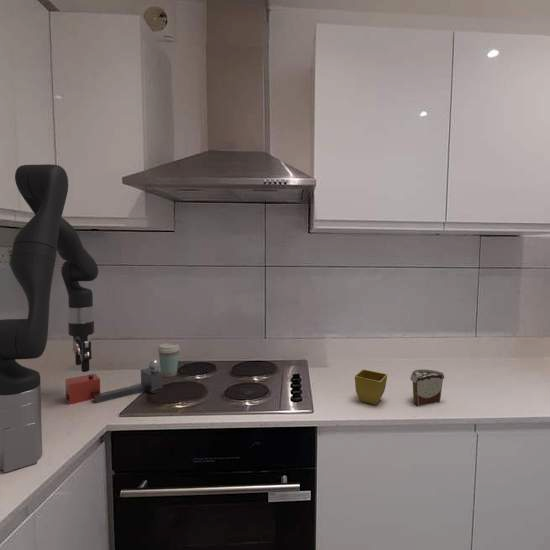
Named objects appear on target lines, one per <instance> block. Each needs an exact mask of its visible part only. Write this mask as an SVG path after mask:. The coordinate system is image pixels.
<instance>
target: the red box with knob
mask: <svg viewBox="0 0 550 550" xmlns="http://www.w3.org/2000/svg"><path fill="white" fill-rule="evenodd" d="M64 380H65V399H66V400H69V401H68V404H69V405H75V404H79V403H82V402H87V401H91V400H92V401H93V395H94V394H99V393H101V379H100V377H99V376H98V375H97V374H96V373H91V374H85V375H82V376H75V377H70V378H66V379H64Z"/></svg>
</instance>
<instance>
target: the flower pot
mask: <svg viewBox="0 0 550 550" xmlns="http://www.w3.org/2000/svg"><path fill="white" fill-rule="evenodd" d="M387 379H388V374H387V373H385V372H377V371H374V370H369V369H361V370H360V371H359V372H358V373H356V374H355V375H354V385H355V387H354V388H355V393H356V395H357V397H358V399H359V400H360V402H363V403H366V404H371V405H377V403H378V402H379V401H380V400H381V399H382V397H383V395H384V393H385V391H386V386H387Z"/></svg>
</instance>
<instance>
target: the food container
mask: <svg viewBox="0 0 550 550" xmlns="http://www.w3.org/2000/svg"><path fill="white" fill-rule="evenodd" d="M444 380H445V374H444V372H442V371H438V370H433V369H415V370H413V371H412V373H411V375H410V381H411V382H412V395H413V397H412V398H413V399H412V400H413V404H414V405H415V406H417V407H423V406H428V405H435V404H440V403H441V397H442V389H443V382H444Z"/></svg>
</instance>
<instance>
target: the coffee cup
mask: <svg viewBox="0 0 550 550" xmlns="http://www.w3.org/2000/svg"><path fill="white" fill-rule="evenodd" d="M180 350H181V348H180V346H179V344H178V343H177V342H165V343H162V344H159V346H158V349H157V352H158V358H159V359H158V360H159V362H160V366H159V368H160V373H161V374H162V375H163V377H164V378H171V377H175V376H177V373H178V363H179V357H180Z"/></svg>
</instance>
